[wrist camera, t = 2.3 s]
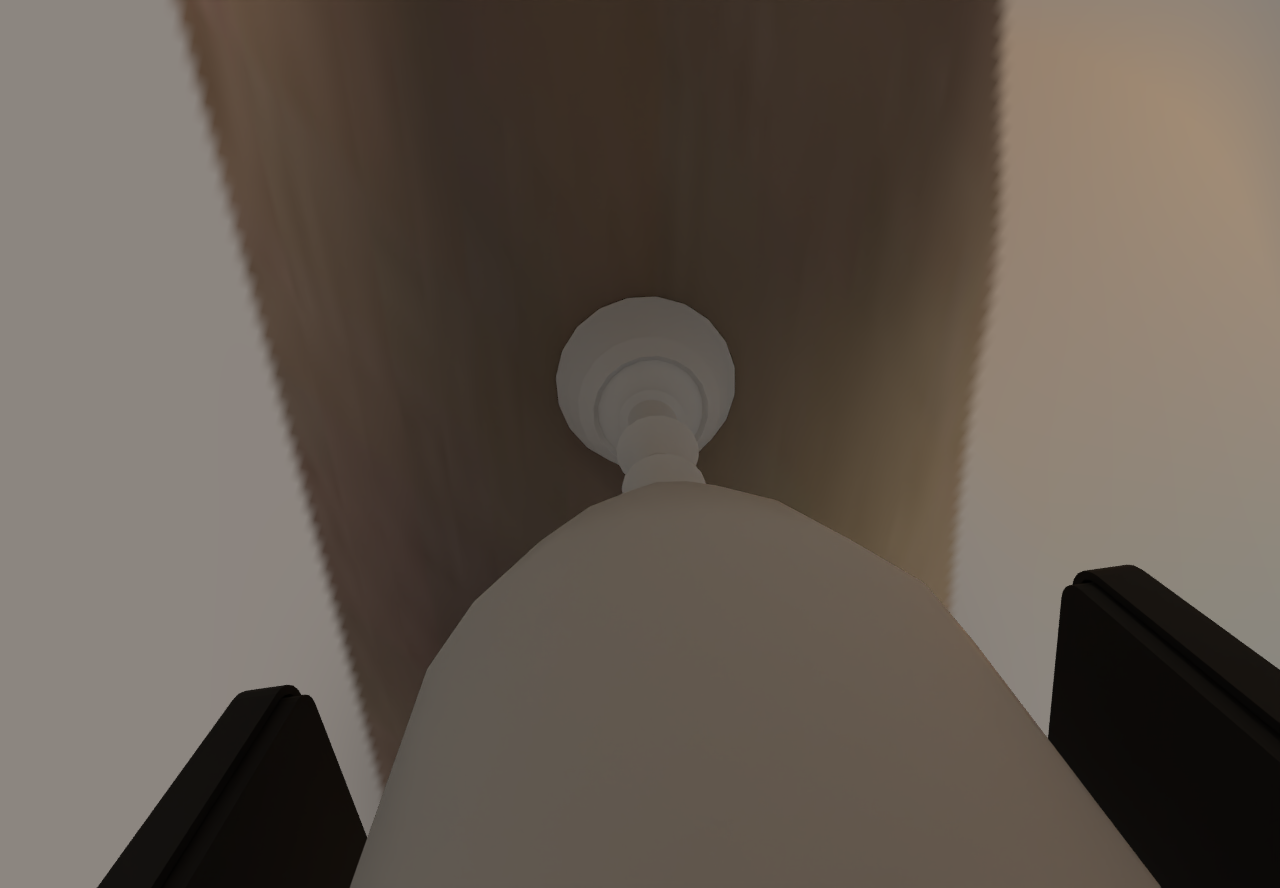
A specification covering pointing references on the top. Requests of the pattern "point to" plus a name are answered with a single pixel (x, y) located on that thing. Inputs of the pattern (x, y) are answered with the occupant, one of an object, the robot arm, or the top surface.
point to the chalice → (717, 689)
